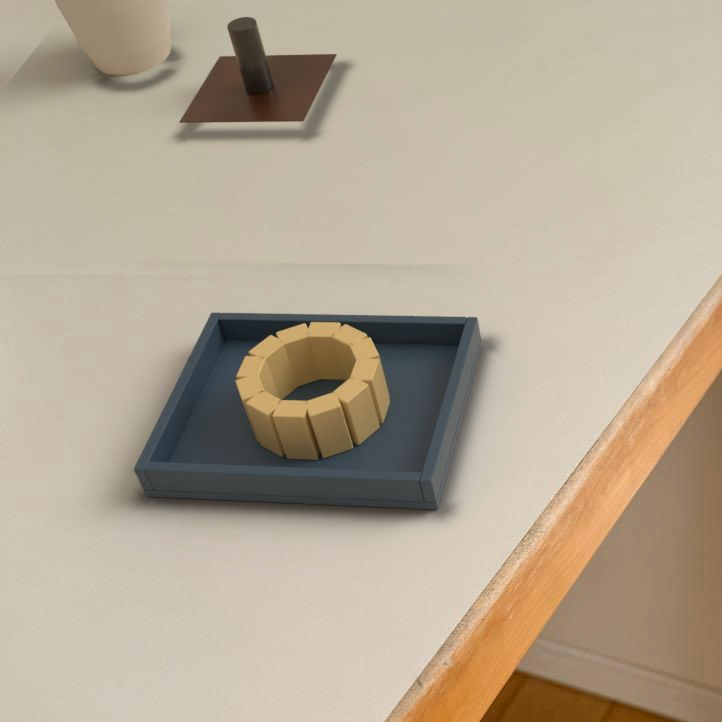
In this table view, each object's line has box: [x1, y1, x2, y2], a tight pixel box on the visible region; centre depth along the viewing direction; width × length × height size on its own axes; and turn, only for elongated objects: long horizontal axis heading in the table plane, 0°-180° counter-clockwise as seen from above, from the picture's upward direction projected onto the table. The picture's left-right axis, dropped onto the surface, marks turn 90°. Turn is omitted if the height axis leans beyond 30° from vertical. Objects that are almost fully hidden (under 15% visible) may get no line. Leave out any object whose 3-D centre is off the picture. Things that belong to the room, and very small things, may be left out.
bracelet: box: [235, 322, 390, 460], centre depth 64 cm, size 7×7×3 cm
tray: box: [133, 312, 483, 510], centre depth 65 cm, size 15×12×2 cm
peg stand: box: [179, 16, 338, 124], centre depth 86 cm, size 9×9×6 cm
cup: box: [54, 0, 172, 76], centre depth 90 cm, size 8×8×10 cm
